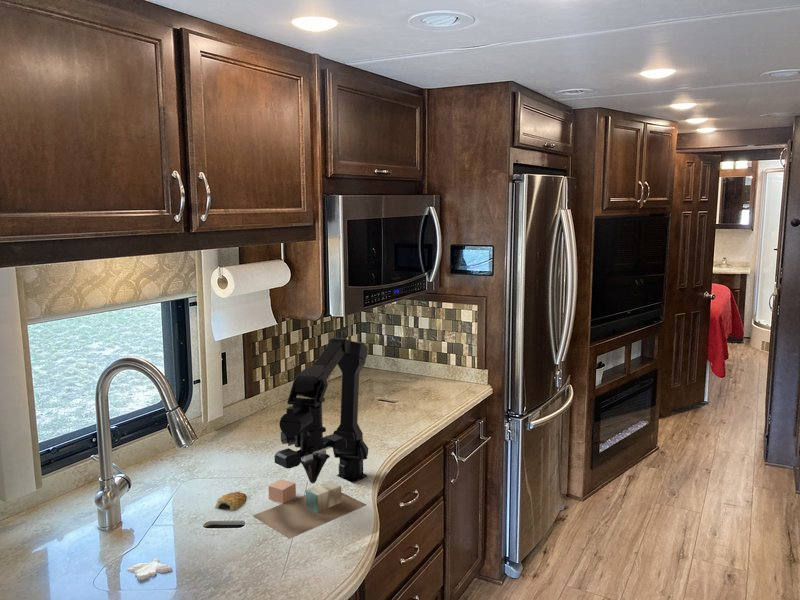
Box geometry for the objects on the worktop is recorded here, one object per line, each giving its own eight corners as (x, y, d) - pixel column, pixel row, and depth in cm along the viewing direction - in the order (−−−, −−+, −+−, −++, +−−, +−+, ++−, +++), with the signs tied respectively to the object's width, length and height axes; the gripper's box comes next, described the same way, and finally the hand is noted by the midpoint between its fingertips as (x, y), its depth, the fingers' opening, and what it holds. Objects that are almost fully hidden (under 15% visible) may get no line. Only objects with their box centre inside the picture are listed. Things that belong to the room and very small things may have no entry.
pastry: (230, 497, 174) (230, 484, 173) (253, 500, 172) (252, 487, 171) (212, 513, 165) (211, 499, 164) (236, 516, 163) (235, 502, 162)
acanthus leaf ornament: (172, 573, 139) (172, 565, 138) (141, 586, 134) (140, 578, 133) (157, 559, 144) (156, 552, 144) (126, 572, 139) (125, 564, 139)
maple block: (306, 506, 165) (330, 496, 170) (316, 512, 161) (341, 502, 167) (305, 490, 164) (330, 480, 170) (316, 495, 161) (341, 485, 166)
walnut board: (328, 490, 177) (328, 486, 177) (367, 509, 166) (366, 504, 165) (252, 520, 160) (252, 515, 160) (289, 543, 149) (289, 538, 149)
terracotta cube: (281, 496, 174) (281, 479, 173) (296, 500, 171) (295, 483, 170) (269, 503, 169) (268, 485, 169) (283, 508, 167) (282, 490, 166)
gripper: (321, 408, 172) (322, 463, 175) (261, 424, 160) (263, 484, 162) (347, 417, 165) (348, 475, 167) (286, 435, 152) (289, 498, 154)
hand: (312, 482), depth 163 cm, fingers closed
